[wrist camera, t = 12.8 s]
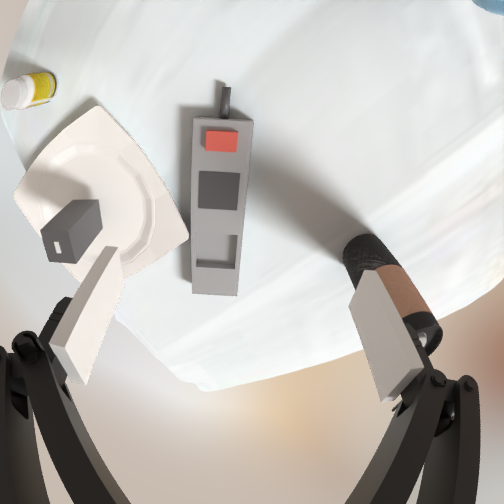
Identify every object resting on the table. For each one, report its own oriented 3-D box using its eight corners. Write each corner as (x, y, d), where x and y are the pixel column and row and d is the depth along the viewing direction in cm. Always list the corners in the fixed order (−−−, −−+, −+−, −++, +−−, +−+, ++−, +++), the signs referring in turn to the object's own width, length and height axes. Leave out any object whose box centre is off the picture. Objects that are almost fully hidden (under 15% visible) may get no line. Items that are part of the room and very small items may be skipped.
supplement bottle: (51, 65, 26) (14, 68, 19) (64, 87, 28) (28, 94, 21) (31, 87, 27) (-6, 95, 20) (43, 109, 29) (7, 121, 22)
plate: (96, 290, 47) (91, 300, 45) (14, 188, 35) (5, 194, 33) (203, 230, 42) (201, 240, 40) (109, 90, 30) (100, 91, 28)
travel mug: (341, 276, 47) (382, 376, 30) (339, 237, 43) (391, 337, 26) (382, 267, 46) (434, 358, 29) (384, 228, 42) (451, 317, 25)
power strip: (198, 86, 30) (194, 86, 28) (256, 89, 31) (257, 89, 28) (194, 284, 46) (191, 296, 44) (237, 287, 47) (237, 299, 44)
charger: (72, 199, 35) (39, 230, 27) (98, 199, 35) (67, 231, 28) (77, 227, 37) (48, 261, 30) (102, 228, 38) (76, 264, 30)
